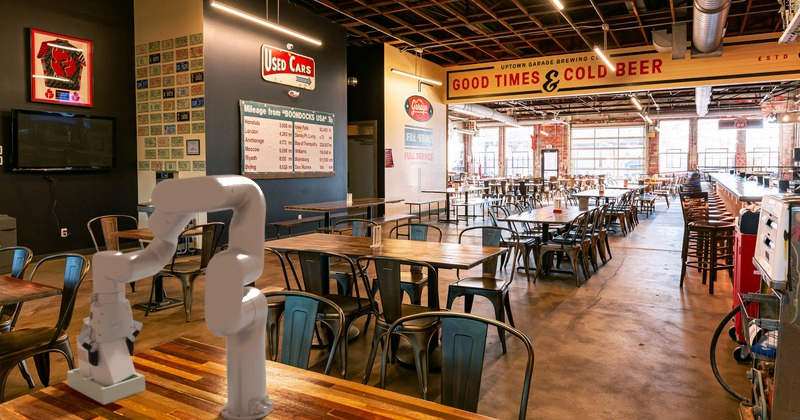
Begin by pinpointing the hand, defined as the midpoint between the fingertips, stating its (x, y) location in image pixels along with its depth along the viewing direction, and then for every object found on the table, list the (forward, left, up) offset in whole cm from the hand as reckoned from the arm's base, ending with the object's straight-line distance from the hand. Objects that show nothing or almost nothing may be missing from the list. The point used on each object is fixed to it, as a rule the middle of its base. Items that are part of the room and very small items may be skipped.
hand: (111, 359), depth 145 cm
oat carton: (+10, 0, -9) cm, 13 cm away
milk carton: (-1, -1, -6) cm, 6 cm away
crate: (+5, 0, -10) cm, 11 cm away
